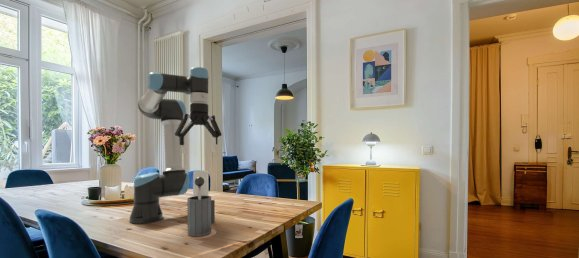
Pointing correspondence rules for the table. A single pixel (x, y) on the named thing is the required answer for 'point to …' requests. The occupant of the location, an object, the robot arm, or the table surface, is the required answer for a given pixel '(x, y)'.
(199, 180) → the plunger
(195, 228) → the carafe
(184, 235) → the trivet
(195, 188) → the white slotted column
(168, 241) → the table surface
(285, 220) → the table surface
